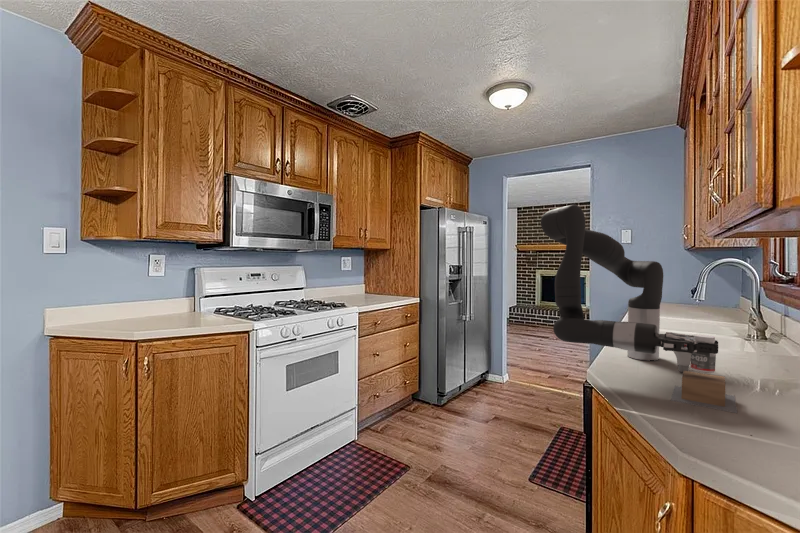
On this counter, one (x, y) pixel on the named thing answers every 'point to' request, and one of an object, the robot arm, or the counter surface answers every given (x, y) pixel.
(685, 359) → the lightbulb
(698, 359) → the pill bottle
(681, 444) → the counter surface
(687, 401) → the mat
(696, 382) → the walnut block
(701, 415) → the counter surface
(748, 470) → the counter surface
